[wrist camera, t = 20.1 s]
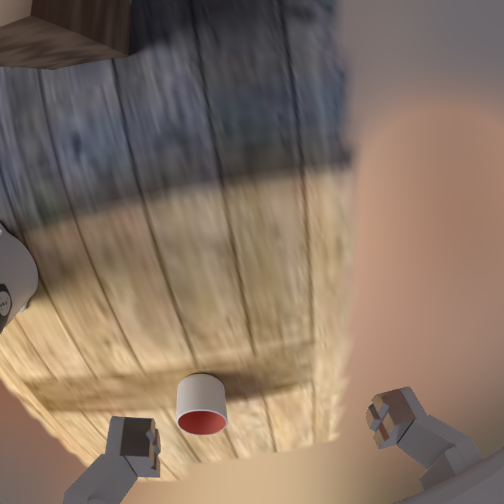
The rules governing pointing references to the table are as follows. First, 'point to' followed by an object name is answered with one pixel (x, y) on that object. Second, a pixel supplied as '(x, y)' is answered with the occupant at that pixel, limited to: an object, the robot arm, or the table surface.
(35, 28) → the two-tone block tower
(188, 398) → the cup
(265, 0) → the table surface
